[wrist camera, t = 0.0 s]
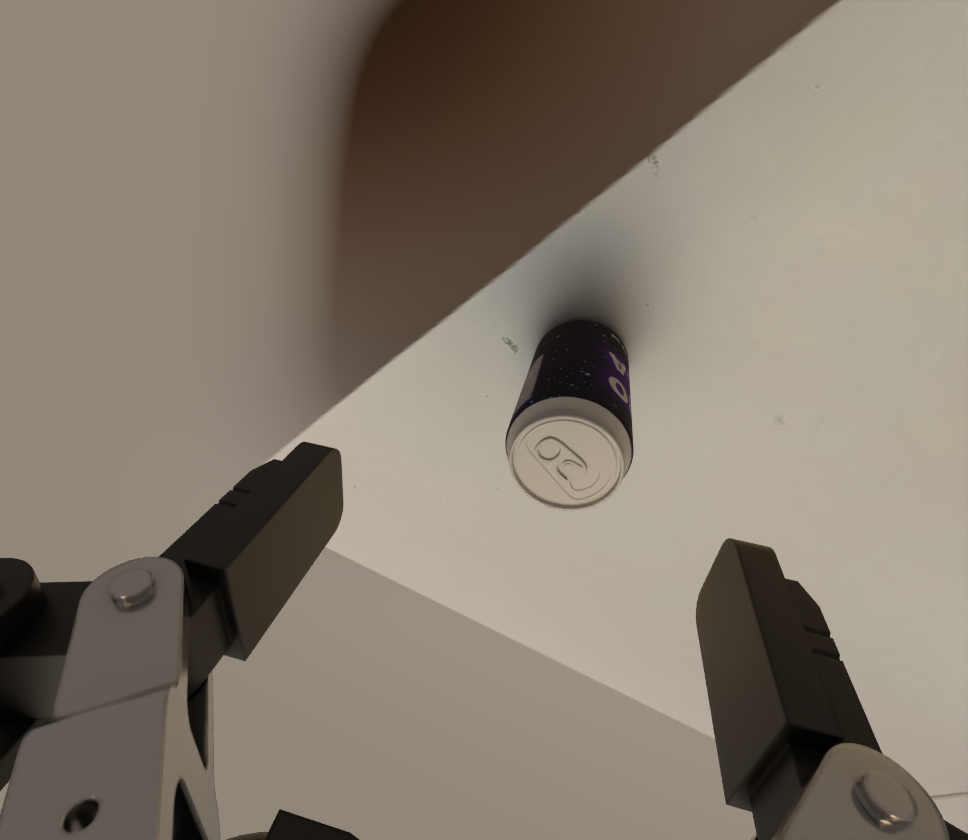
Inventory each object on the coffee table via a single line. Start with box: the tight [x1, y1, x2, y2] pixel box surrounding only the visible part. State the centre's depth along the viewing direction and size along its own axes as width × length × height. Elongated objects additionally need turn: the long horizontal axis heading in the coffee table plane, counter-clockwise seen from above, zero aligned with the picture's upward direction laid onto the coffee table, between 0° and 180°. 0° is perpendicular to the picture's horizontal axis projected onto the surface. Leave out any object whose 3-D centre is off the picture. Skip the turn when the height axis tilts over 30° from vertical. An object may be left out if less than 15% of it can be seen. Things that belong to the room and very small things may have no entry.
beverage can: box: [506, 320, 633, 511], centre depth 27 cm, size 6×6×12 cm
